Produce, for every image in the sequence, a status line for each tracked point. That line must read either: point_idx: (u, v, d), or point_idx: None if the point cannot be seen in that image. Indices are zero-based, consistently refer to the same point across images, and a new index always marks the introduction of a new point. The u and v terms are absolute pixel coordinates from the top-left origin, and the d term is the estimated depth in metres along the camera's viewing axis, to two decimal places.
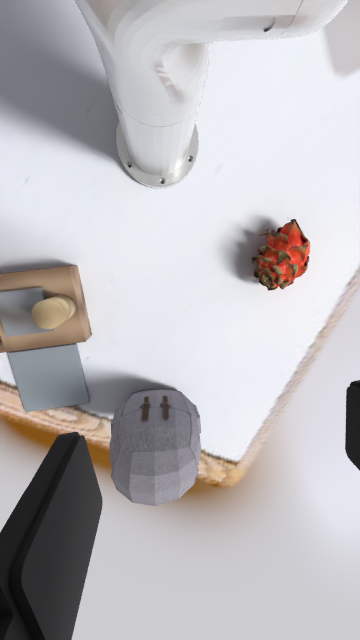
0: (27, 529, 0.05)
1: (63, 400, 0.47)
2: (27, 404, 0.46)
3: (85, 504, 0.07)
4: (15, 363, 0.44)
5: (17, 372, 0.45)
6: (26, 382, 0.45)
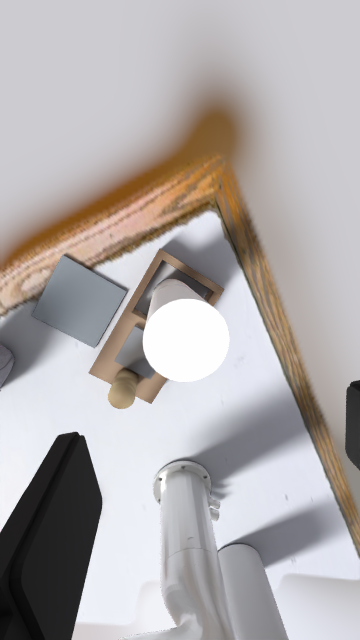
0: (27, 529, 0.05)
1: (50, 297, 0.42)
2: (68, 264, 0.41)
3: (85, 504, 0.07)
4: (114, 289, 0.43)
5: (104, 284, 0.42)
6: (90, 283, 0.42)
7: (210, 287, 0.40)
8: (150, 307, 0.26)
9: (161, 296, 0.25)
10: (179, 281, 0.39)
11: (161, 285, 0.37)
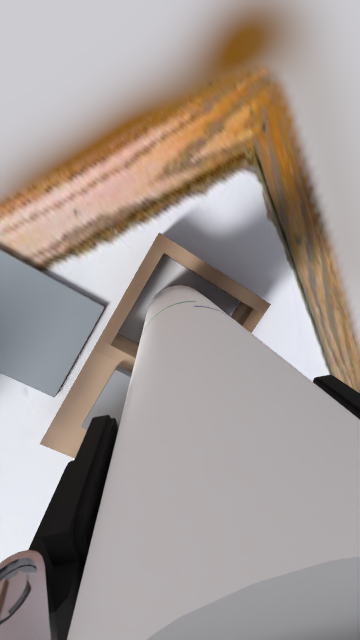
0: (82, 492, 0.06)
1: None
2: (2, 261, 0.24)
3: None
4: (83, 304, 0.26)
5: (67, 294, 0.25)
6: (42, 293, 0.25)
7: (247, 301, 0.23)
8: (132, 382, 0.09)
9: (163, 361, 0.08)
10: (194, 291, 0.22)
11: (162, 300, 0.20)
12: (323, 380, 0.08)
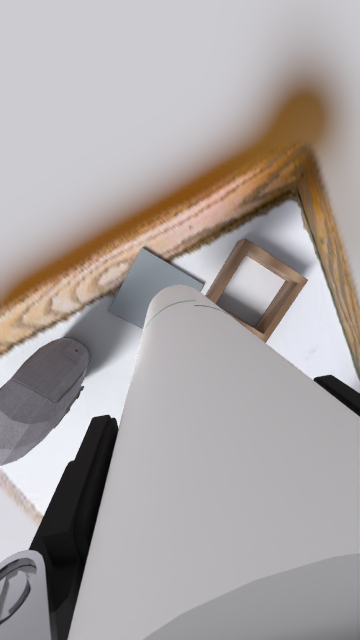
0: (82, 492, 0.06)
1: (128, 291, 0.41)
2: (147, 257, 0.40)
3: None
4: (191, 283, 0.42)
5: (182, 277, 0.41)
6: (168, 276, 0.41)
7: (294, 278, 0.40)
8: (132, 381, 0.09)
9: (164, 360, 0.08)
10: (194, 291, 0.22)
11: (162, 300, 0.20)
12: (323, 380, 0.08)
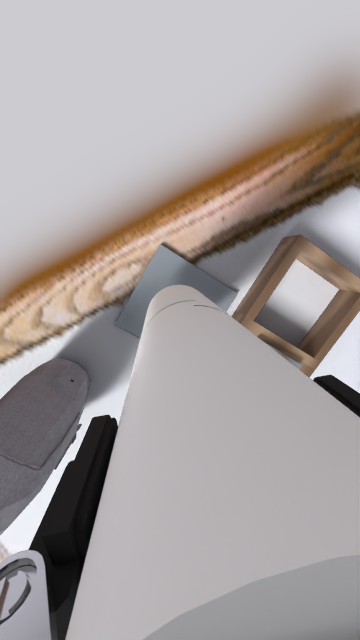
0: (82, 492, 0.06)
1: (140, 300, 0.32)
2: (167, 256, 0.31)
3: None
4: (222, 290, 0.33)
5: (211, 283, 0.32)
6: (193, 281, 0.32)
7: (358, 287, 0.30)
8: (132, 381, 0.09)
9: (163, 360, 0.08)
10: (194, 291, 0.22)
11: (162, 300, 0.20)
12: (323, 380, 0.08)
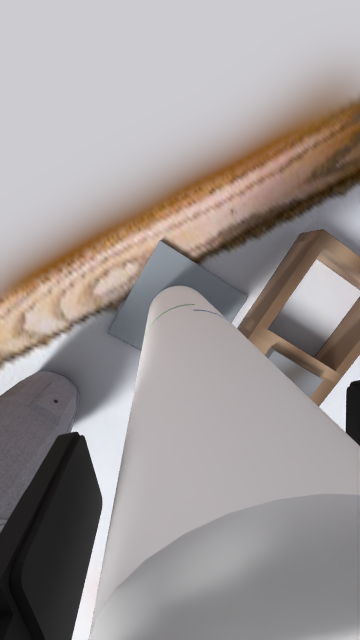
0: (27, 529, 0.05)
1: (137, 304, 0.28)
2: (168, 255, 0.27)
3: (85, 504, 0.07)
4: (230, 293, 0.29)
5: (218, 285, 0.28)
6: (197, 283, 0.28)
7: None
8: (139, 380, 0.11)
9: (167, 364, 0.09)
10: (193, 293, 0.23)
11: (163, 302, 0.21)
12: None
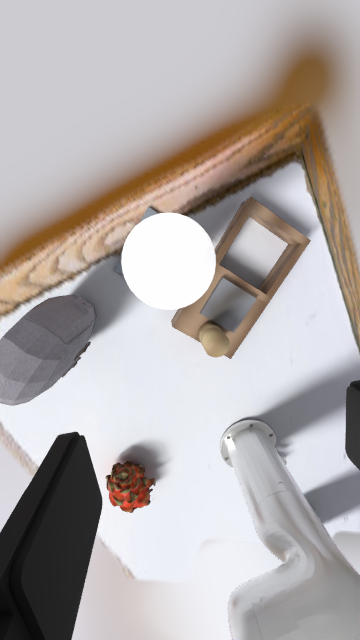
0: (27, 529, 0.05)
1: None
2: None
3: (85, 504, 0.07)
4: None
5: None
6: None
7: (297, 238, 0.40)
8: None
9: None
10: None
11: None
12: None
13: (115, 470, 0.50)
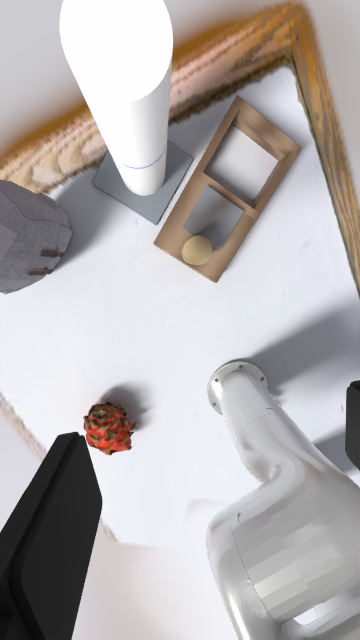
0: (27, 529, 0.05)
1: (113, 161, 0.39)
2: None
3: (85, 504, 0.07)
4: (180, 155, 0.40)
5: (170, 148, 0.39)
6: None
7: (287, 145, 0.38)
8: None
9: None
10: None
11: None
12: None
13: (93, 409, 0.46)
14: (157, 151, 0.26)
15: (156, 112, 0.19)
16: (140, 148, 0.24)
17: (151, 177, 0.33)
